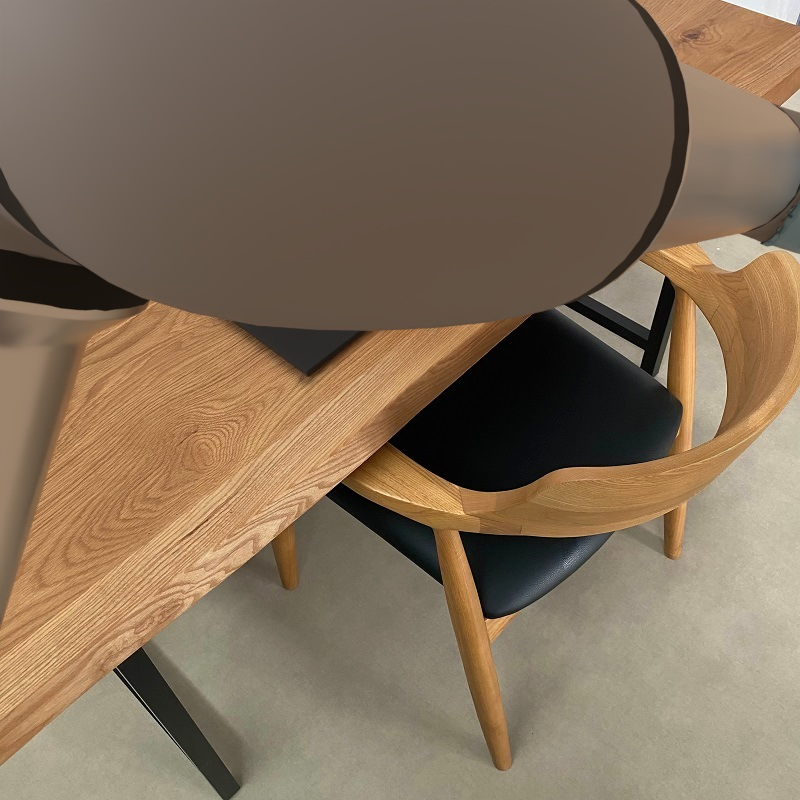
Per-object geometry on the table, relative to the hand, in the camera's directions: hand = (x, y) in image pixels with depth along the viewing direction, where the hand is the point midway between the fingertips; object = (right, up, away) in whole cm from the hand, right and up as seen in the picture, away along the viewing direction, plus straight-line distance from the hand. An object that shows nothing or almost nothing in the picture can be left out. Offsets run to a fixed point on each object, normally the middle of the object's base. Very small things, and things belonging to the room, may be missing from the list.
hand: (195, 163), depth 71 cm
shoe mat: (+17, -3, +19) cm, 26 cm away
